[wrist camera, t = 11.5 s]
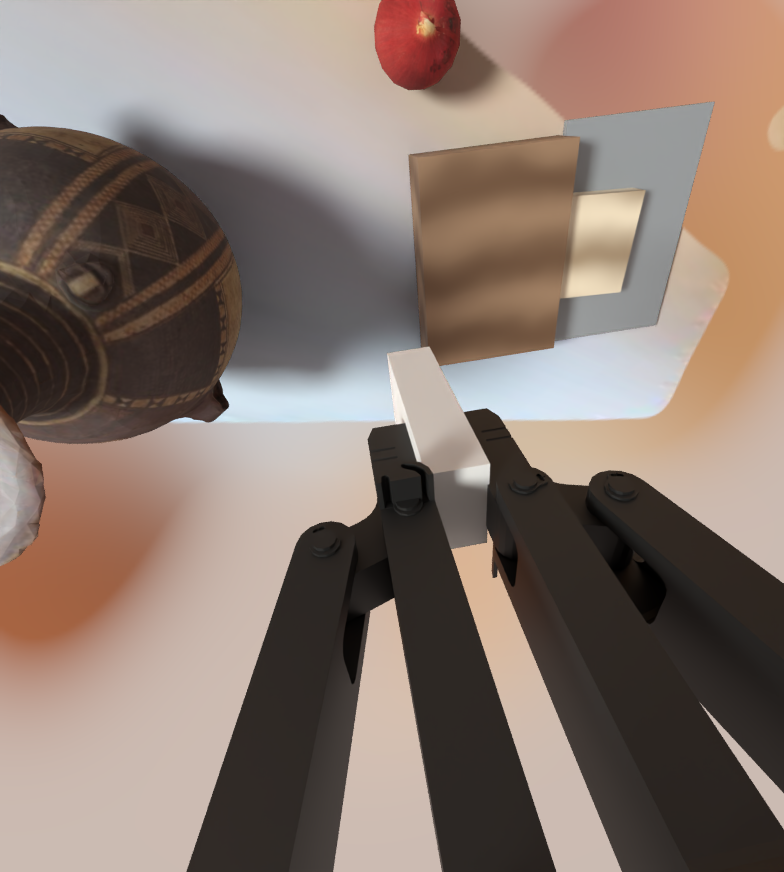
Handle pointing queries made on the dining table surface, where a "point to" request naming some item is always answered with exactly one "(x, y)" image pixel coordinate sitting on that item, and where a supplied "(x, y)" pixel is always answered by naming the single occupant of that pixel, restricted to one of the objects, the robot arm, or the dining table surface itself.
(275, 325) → the dining table surface
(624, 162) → the mat
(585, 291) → the tile
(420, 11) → the onion
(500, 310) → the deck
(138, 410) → the vase
